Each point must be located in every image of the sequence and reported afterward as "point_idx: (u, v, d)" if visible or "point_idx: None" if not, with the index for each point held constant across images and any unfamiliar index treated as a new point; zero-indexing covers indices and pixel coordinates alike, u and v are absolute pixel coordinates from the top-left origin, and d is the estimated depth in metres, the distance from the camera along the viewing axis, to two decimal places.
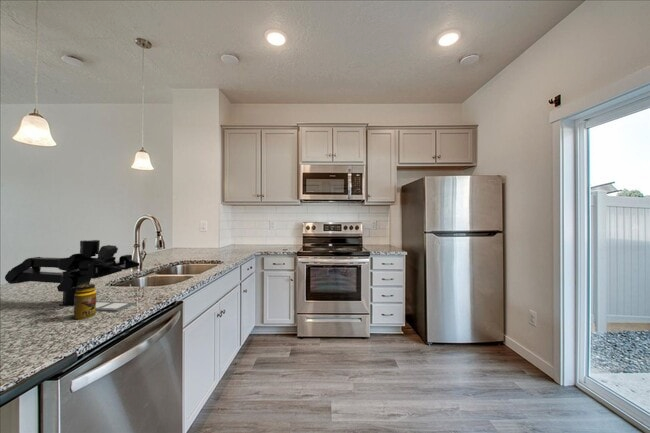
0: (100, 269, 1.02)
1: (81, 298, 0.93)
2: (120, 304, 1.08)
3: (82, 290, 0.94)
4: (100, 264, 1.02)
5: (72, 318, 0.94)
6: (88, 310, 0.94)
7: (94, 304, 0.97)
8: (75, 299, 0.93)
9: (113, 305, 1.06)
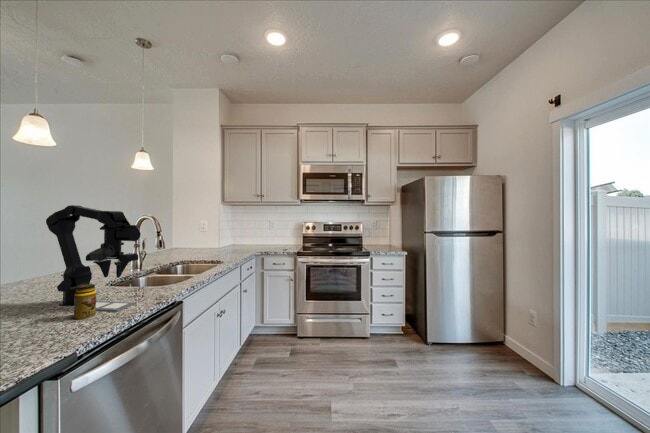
0: None
1: (81, 298, 0.93)
2: (120, 304, 1.08)
3: (82, 290, 0.94)
4: (95, 262, 1.06)
5: (72, 318, 0.94)
6: (88, 310, 0.94)
7: (94, 304, 0.97)
8: (75, 299, 0.93)
9: (113, 305, 1.06)
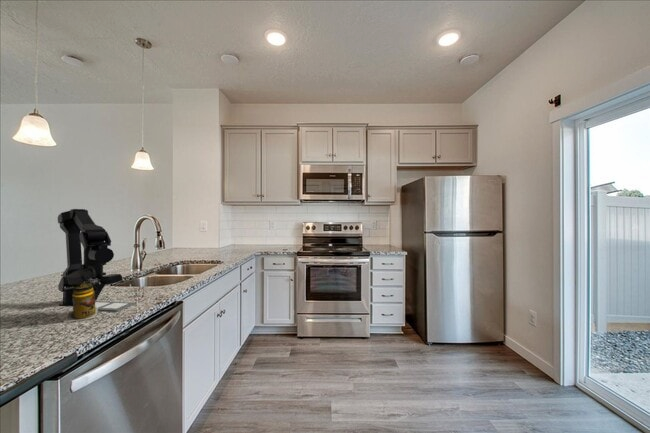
0: None
1: (79, 299, 0.92)
2: (120, 304, 1.08)
3: (80, 291, 0.92)
4: None
5: (72, 316, 0.94)
6: (87, 310, 0.94)
7: (93, 303, 0.96)
8: (73, 300, 0.92)
9: (113, 305, 1.06)
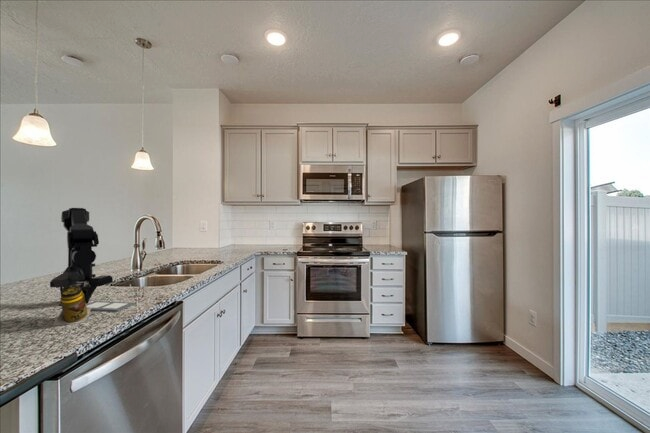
0: None
1: (67, 305, 0.87)
2: (120, 304, 1.08)
3: (67, 297, 0.86)
4: None
5: (63, 317, 0.91)
6: (76, 314, 0.90)
7: (83, 307, 0.91)
8: (61, 304, 0.87)
9: (113, 305, 1.06)
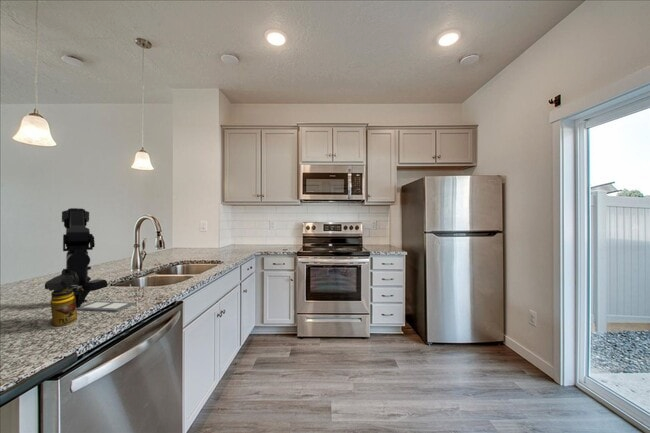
0: None
1: (55, 305, 0.85)
2: (120, 304, 1.08)
3: (56, 297, 0.85)
4: None
5: (52, 322, 0.89)
6: (65, 317, 0.87)
7: (72, 310, 0.89)
8: (51, 305, 0.86)
9: (113, 305, 1.06)
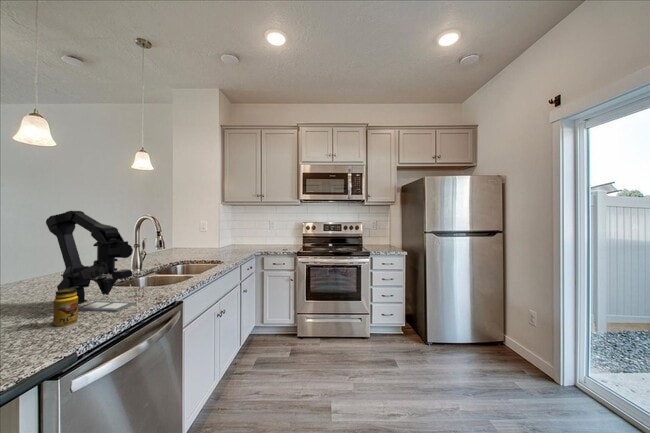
0: None
1: (58, 304, 0.87)
2: (120, 304, 1.08)
3: (60, 295, 0.87)
4: None
5: (53, 324, 0.89)
6: (66, 317, 0.88)
7: (74, 311, 0.90)
8: (54, 305, 0.87)
9: (113, 305, 1.06)
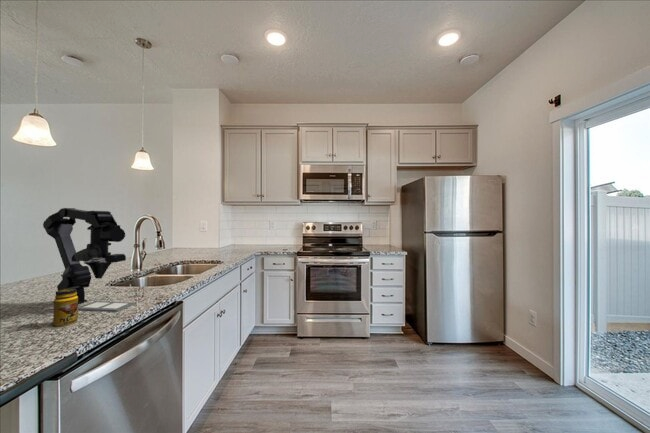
0: None
1: (58, 304, 0.87)
2: (120, 304, 1.08)
3: (60, 295, 0.87)
4: (85, 263, 1.04)
5: (53, 324, 0.89)
6: (66, 317, 0.88)
7: (74, 311, 0.90)
8: (54, 305, 0.87)
9: (113, 305, 1.06)
